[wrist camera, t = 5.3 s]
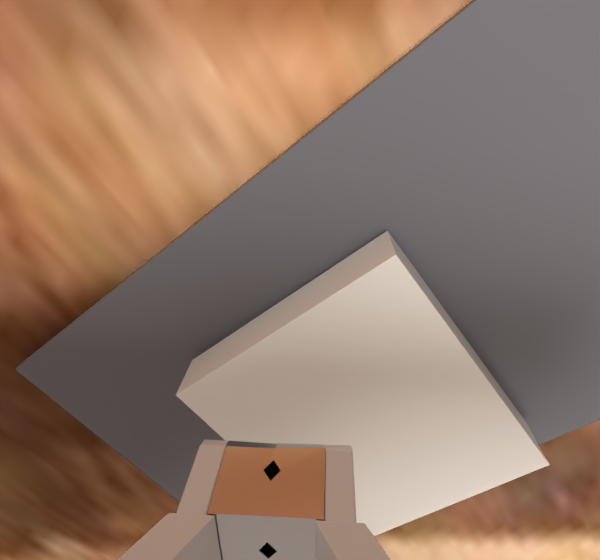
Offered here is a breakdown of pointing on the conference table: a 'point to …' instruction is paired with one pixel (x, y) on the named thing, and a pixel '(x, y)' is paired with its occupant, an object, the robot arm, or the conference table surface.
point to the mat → (375, 221)
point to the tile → (369, 389)
